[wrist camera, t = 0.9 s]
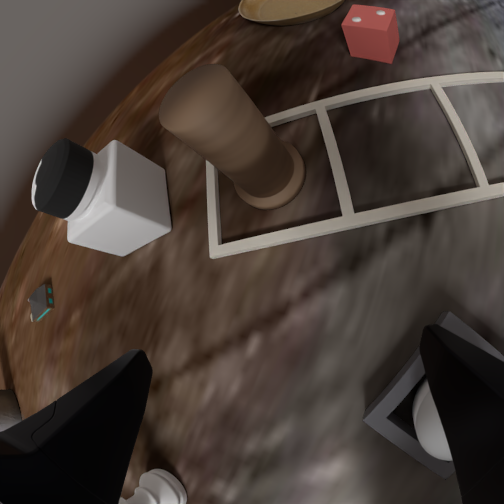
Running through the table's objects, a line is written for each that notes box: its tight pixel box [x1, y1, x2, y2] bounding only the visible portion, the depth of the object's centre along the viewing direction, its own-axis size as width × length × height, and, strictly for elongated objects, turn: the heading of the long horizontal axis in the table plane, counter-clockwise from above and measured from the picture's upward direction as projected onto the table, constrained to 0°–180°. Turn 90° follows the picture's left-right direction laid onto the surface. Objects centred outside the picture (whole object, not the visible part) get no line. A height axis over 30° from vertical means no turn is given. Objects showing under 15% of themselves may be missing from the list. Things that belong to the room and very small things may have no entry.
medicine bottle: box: [32, 138, 172, 256], centre depth 22 cm, size 7×7×12 cm
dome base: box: [363, 311, 504, 480], centre depth 13 cm, size 8×8×2 cm
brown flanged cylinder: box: [159, 64, 306, 210], centre depth 18 cm, size 6×6×10 cm
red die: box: [341, 4, 399, 64], centre depth 18 cm, size 4×4×4 cm
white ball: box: [412, 377, 453, 461], centre depth 10 cm, size 5×5×5 cm
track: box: [206, 72, 504, 259], centre depth 18 cm, size 32×11×1 cm, turn 96°
